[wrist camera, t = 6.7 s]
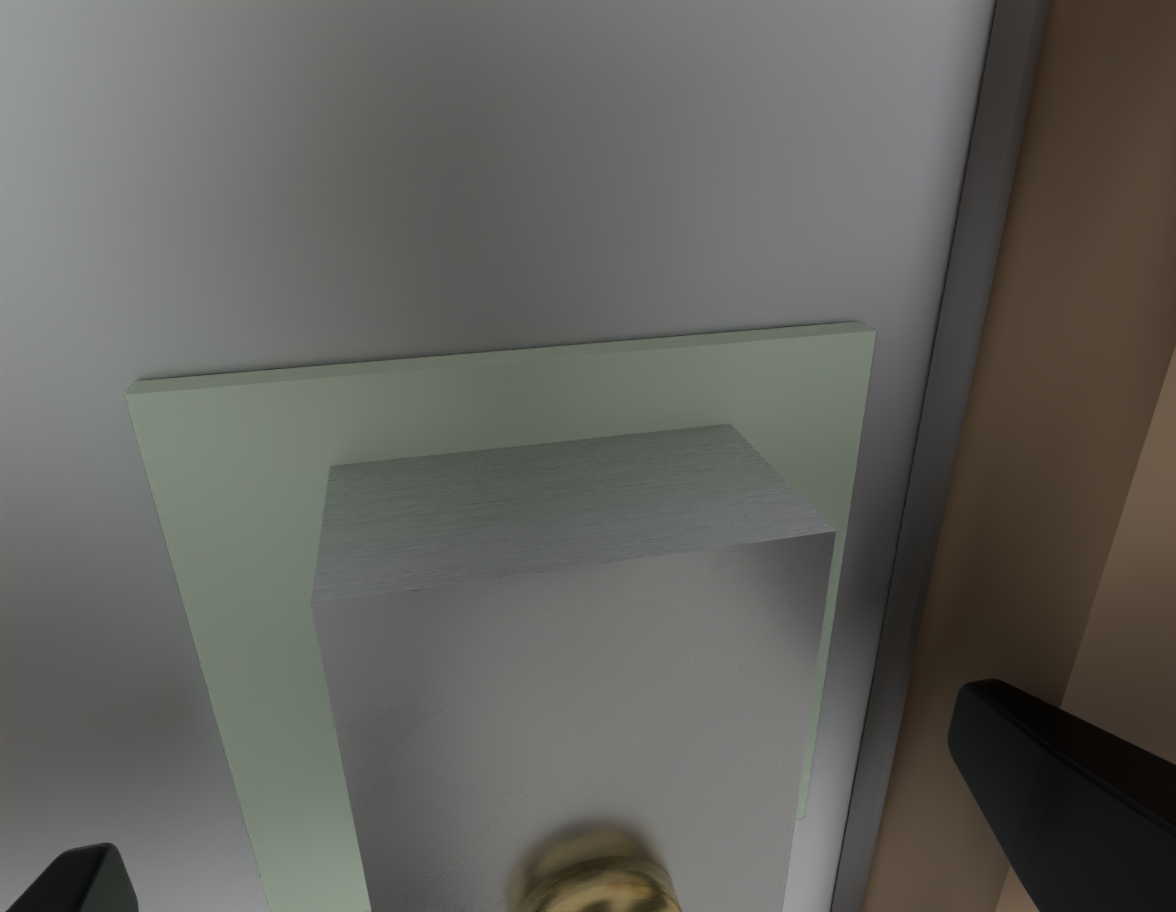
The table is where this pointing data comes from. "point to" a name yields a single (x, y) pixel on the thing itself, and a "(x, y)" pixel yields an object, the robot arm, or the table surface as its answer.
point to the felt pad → (411, 429)
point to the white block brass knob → (573, 672)
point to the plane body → (1035, 447)
